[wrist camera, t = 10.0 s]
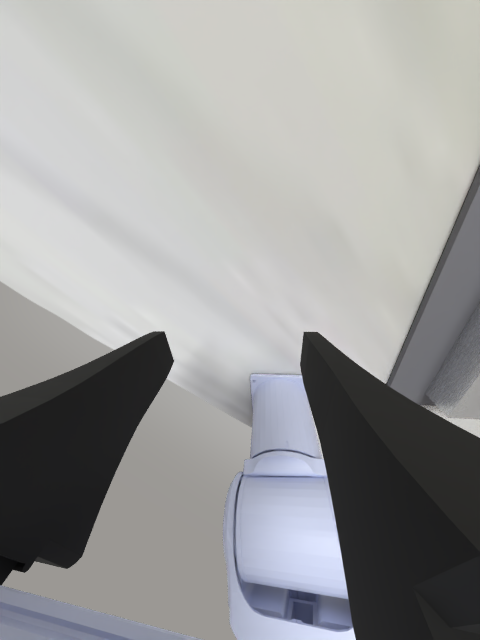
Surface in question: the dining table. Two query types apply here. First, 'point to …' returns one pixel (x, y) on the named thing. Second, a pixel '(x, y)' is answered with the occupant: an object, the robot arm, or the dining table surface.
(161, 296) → the dining table surface
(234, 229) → the dining table surface
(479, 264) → the mat
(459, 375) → the rail
